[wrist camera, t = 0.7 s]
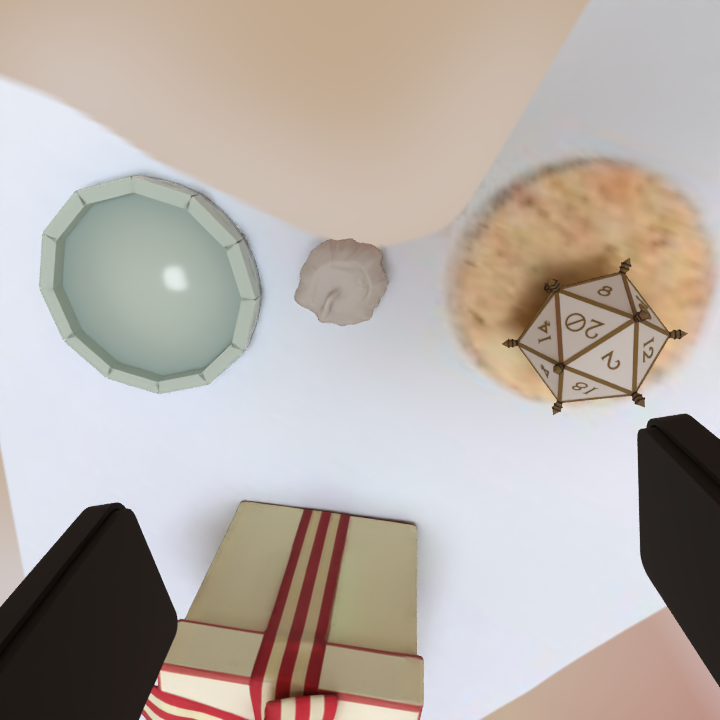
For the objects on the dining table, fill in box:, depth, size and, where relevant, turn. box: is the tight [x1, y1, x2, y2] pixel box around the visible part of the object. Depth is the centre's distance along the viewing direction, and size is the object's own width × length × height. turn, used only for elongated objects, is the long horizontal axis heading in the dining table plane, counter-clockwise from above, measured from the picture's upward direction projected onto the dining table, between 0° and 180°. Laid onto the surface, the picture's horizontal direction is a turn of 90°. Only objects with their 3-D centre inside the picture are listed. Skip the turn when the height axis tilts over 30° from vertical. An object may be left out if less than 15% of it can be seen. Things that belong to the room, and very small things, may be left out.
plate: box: [39, 175, 261, 394], centre depth 35 cm, size 14×14×2 cm
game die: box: [503, 258, 688, 415], centre depth 31 cm, size 9×8×10 cm
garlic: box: [294, 239, 388, 326], centre depth 32 cm, size 6×5×5 cm
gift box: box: [142, 501, 424, 720], centre depth 37 cm, size 17×18×17 cm
